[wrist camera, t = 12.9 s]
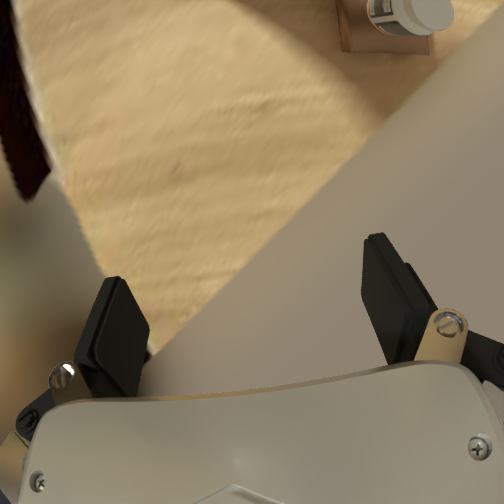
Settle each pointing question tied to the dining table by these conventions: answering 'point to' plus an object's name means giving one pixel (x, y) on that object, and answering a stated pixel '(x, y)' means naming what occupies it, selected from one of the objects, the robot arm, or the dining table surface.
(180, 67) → the dining table surface
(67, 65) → the dining table surface
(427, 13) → the pill bottle
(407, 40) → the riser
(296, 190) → the dining table surface
